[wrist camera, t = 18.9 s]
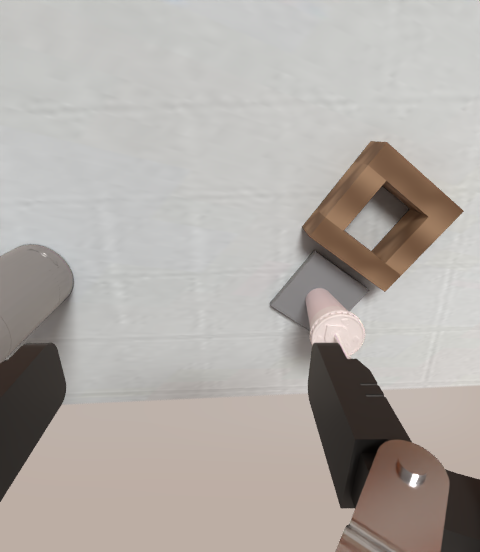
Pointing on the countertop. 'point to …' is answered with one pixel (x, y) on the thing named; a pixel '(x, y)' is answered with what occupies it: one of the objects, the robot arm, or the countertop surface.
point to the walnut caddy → (404, 235)
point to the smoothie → (333, 322)
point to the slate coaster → (317, 276)
